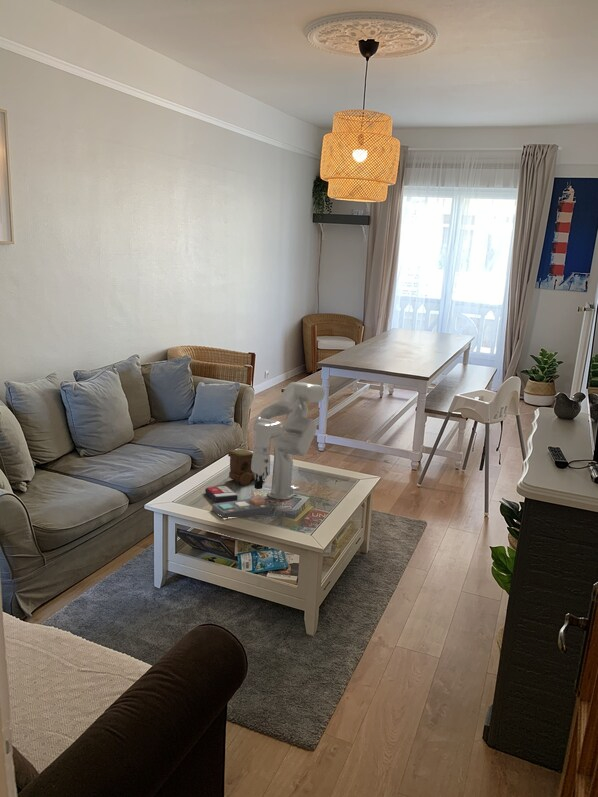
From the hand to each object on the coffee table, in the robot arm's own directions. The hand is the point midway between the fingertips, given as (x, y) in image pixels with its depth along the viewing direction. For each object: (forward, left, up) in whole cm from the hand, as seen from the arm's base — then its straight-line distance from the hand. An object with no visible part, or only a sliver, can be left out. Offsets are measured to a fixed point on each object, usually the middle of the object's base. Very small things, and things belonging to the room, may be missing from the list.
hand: (258, 488), depth 283 cm
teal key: (+16, 0, -9) cm, 18 cm away
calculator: (+9, -19, -11) cm, 24 cm away
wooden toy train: (-15, -37, -10) cm, 41 cm away
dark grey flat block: (+8, 0, -10) cm, 13 cm away
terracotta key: (0, 0, -8) cm, 8 cm away
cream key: (+8, 0, -9) cm, 12 cm away
